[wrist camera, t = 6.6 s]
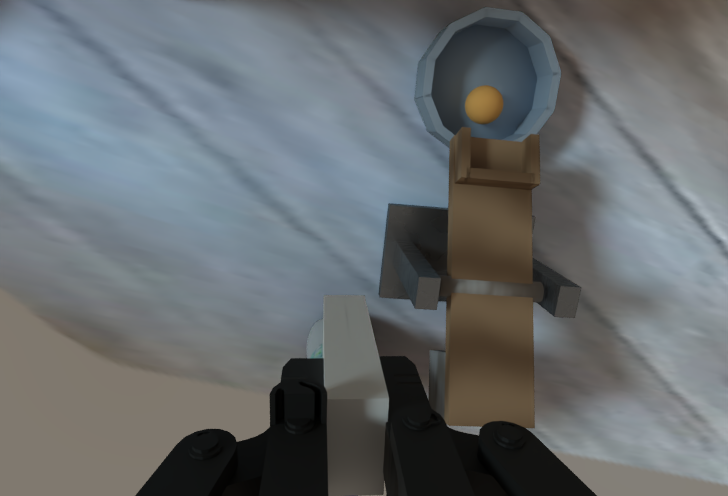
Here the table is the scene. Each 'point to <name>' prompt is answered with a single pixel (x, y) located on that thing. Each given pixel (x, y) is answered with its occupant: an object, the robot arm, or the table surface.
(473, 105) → the ball
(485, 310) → the lever
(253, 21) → the table surface
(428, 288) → the fulcrum
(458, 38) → the bowl
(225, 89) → the table surface
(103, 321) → the table surface
